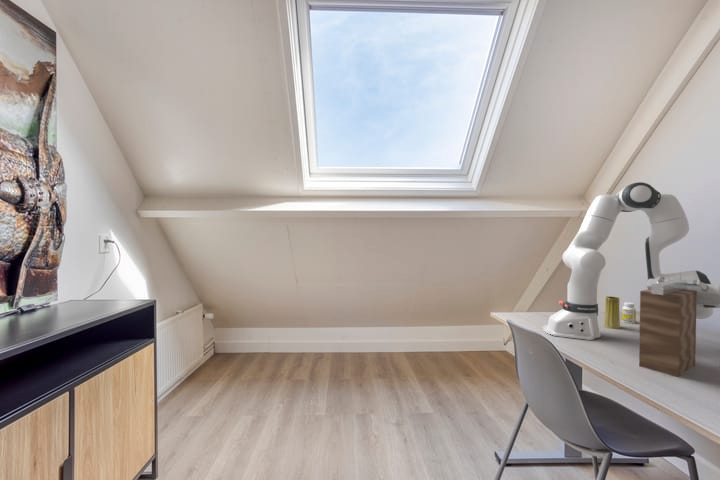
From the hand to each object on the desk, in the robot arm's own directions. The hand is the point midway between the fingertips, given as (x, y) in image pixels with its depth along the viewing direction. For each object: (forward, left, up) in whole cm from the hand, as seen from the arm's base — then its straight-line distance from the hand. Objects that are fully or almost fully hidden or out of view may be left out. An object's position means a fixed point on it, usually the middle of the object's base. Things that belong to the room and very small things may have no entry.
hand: (677, 280), depth 115 cm
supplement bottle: (+10, +52, -29) cm, 61 cm away
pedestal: (-6, -6, -29) cm, 30 cm away
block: (-5, -5, -3) cm, 8 cm away
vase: (-2, +41, -29) cm, 50 cm away
